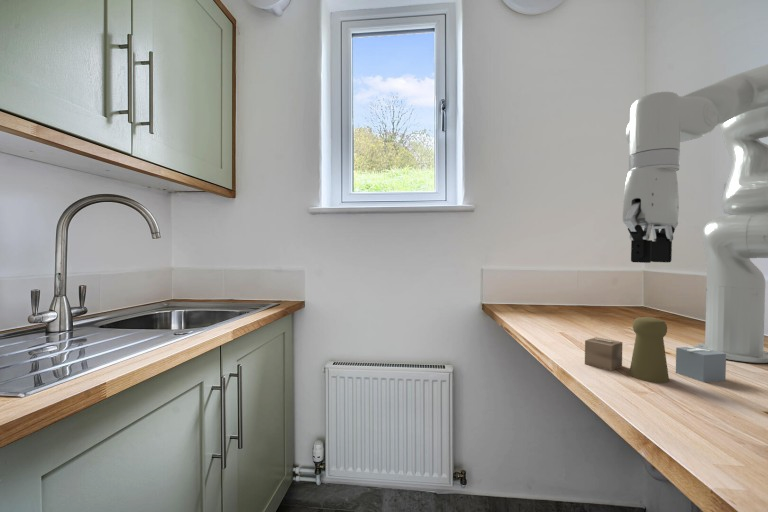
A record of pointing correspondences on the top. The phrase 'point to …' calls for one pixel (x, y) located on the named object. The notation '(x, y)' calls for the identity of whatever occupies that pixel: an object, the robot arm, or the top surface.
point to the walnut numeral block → (603, 353)
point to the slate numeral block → (701, 364)
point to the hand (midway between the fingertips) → (651, 261)
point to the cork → (649, 350)
